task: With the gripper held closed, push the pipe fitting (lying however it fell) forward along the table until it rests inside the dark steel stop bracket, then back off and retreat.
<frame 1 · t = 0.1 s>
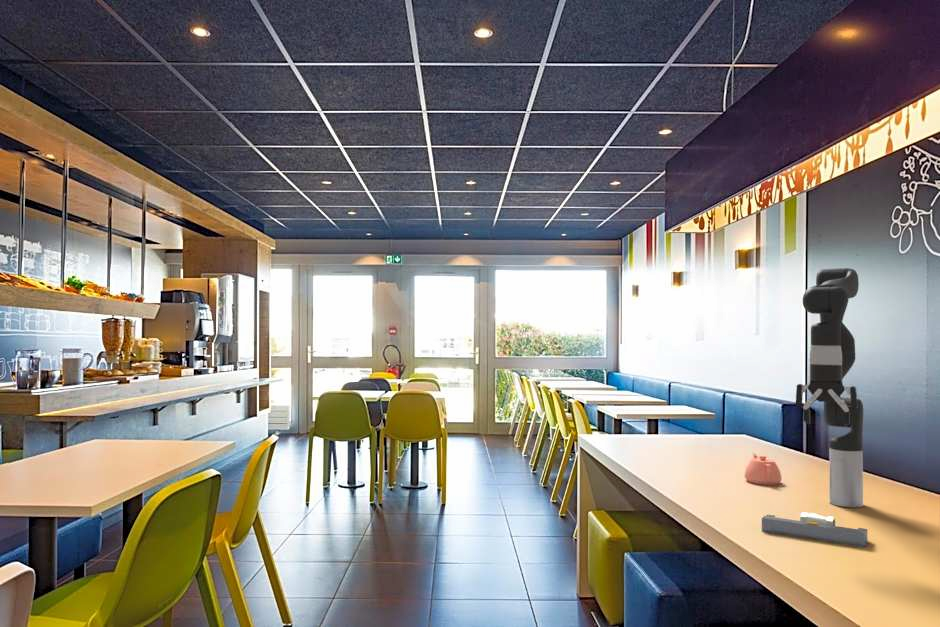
hand: (826, 425, 179), 29 cm above the table, fingers open, 8 cm apart
pipe fitting: (819, 528, 189), on the table
stop bracket: (812, 537, 178), on the table
pink rounded piece: (762, 482, 249), on the table
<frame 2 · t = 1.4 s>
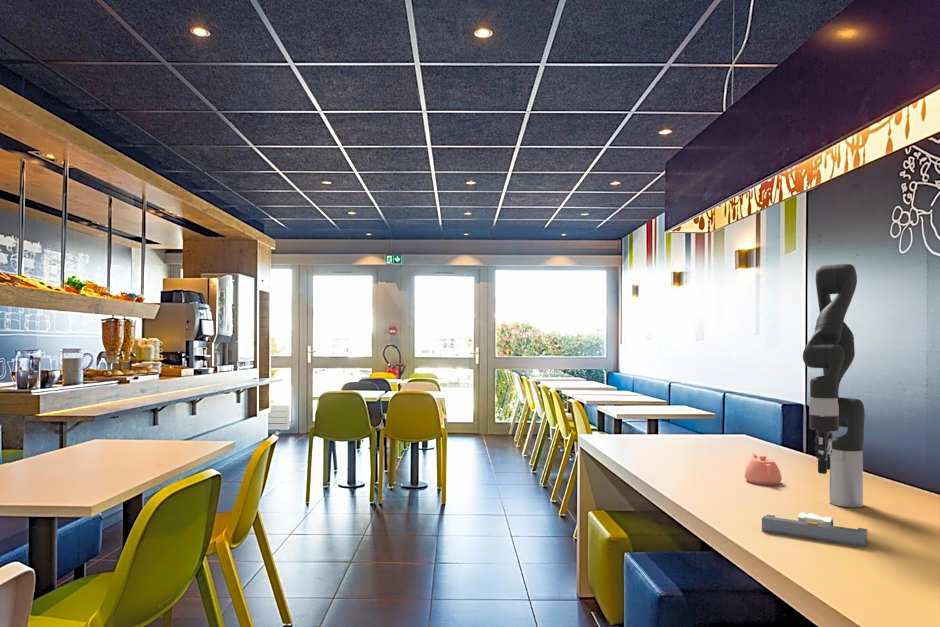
hand: (824, 471, 197), 14 cm above the table, fingers open, 7 cm apart
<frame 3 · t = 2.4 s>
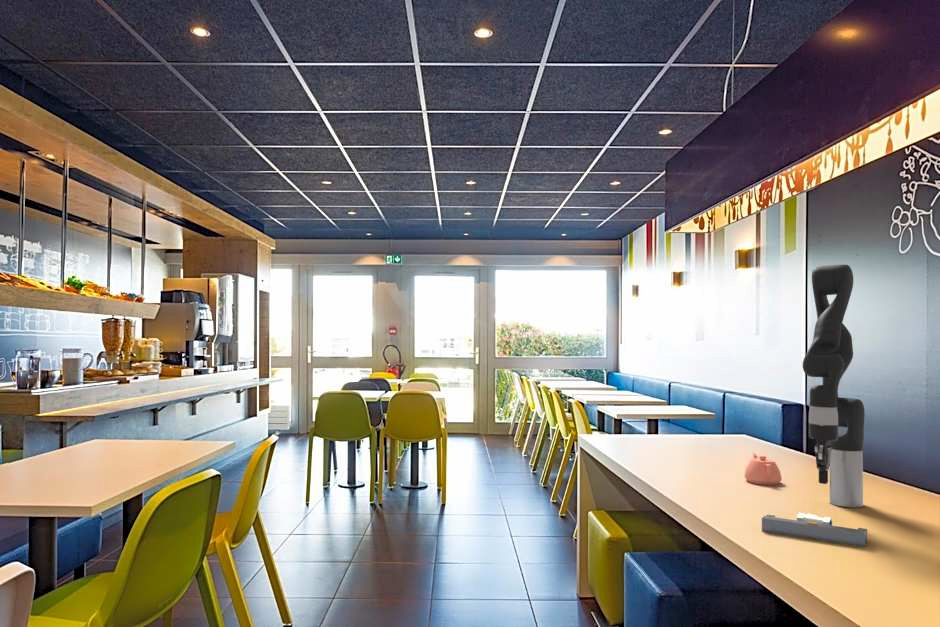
hand: (823, 483, 197), 10 cm above the table, fingers closed
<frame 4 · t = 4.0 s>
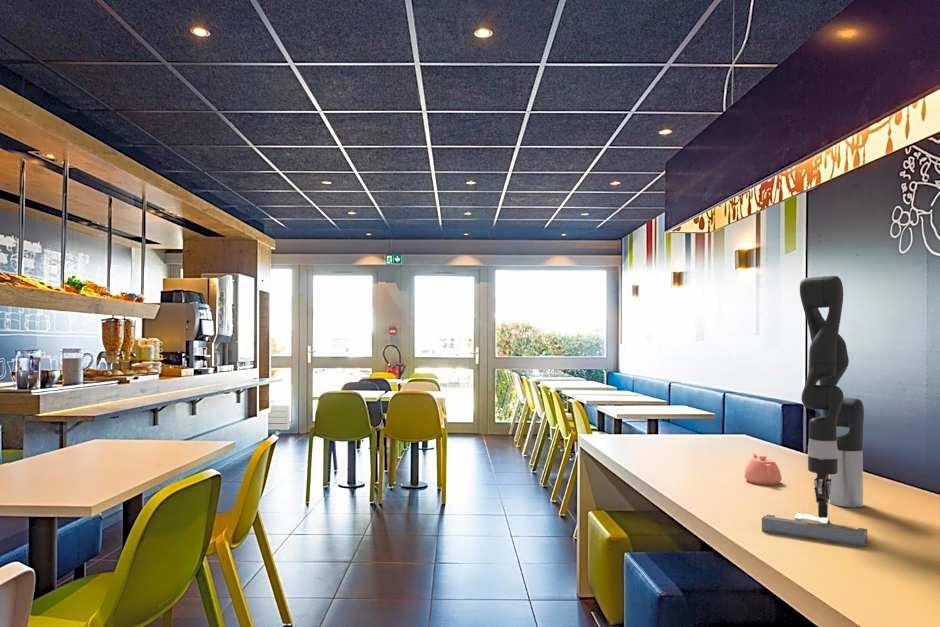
hand: (823, 517, 194), 1 cm above the table, fingers closed
pipe fitting: (814, 530, 187), on the table
everything else where it was.
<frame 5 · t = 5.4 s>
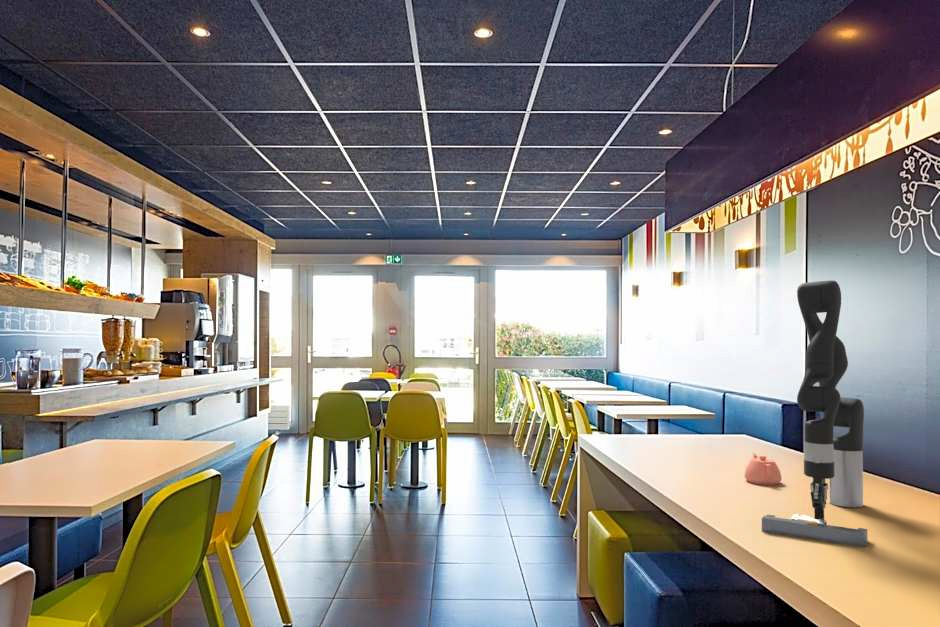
hand: (819, 522, 188), 1 cm above the table, fingers closed
pipe fitting: (810, 531, 186), on the table
everything else where it was.
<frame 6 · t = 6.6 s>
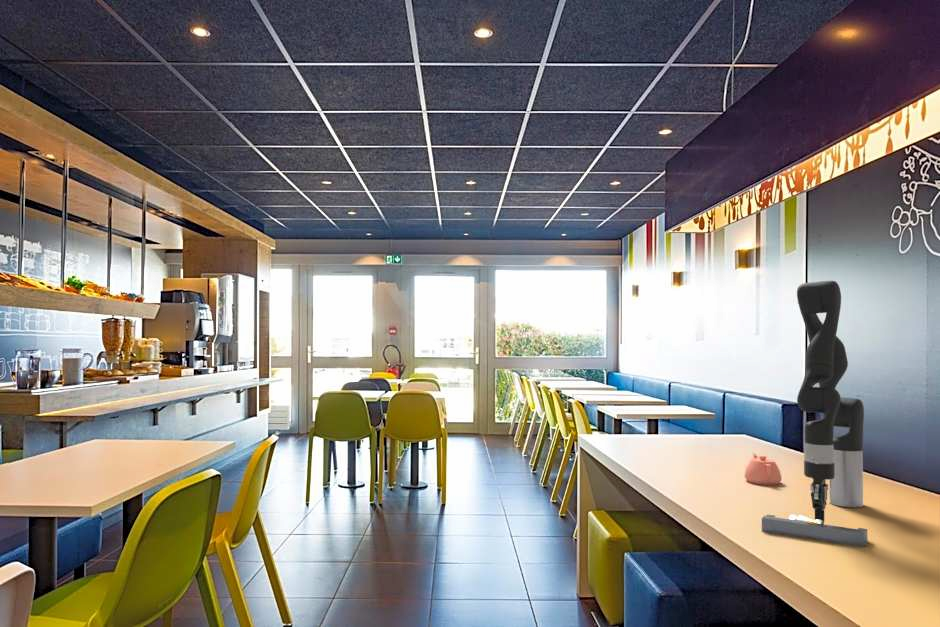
hand: (819, 523, 189), 1 cm above the table, fingers closed
pipe fitting: (807, 531, 186), on the table
everything else where it was.
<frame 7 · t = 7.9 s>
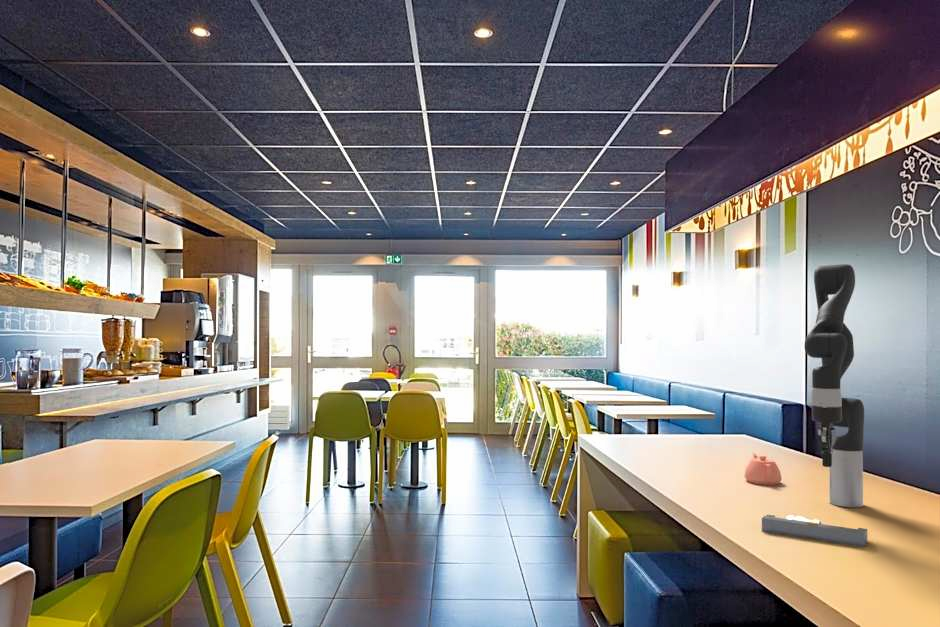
hand: (827, 466, 192), 16 cm above the table, fingers closed
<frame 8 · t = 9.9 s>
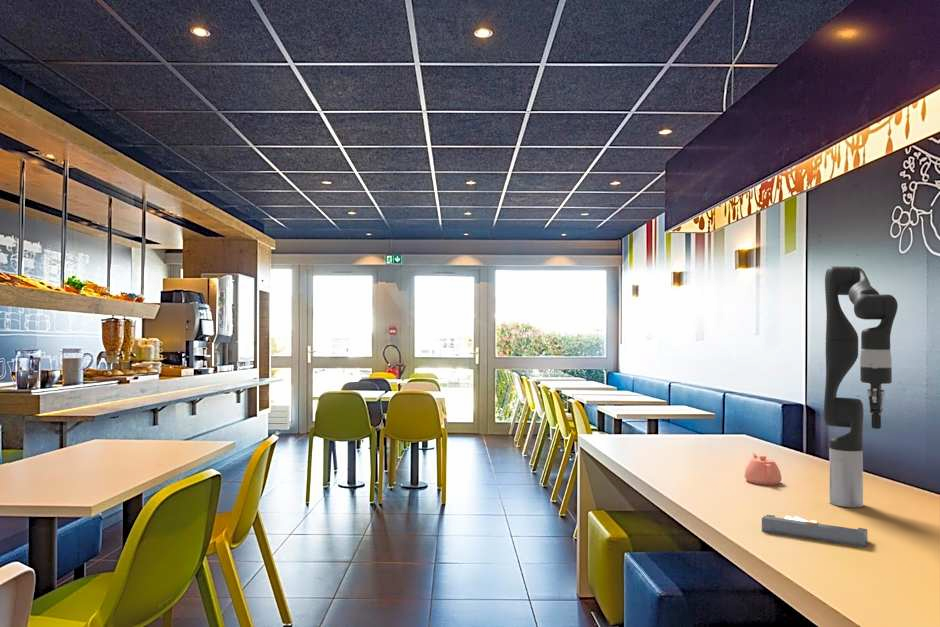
hand: (876, 428, 191), 27 cm above the table, fingers closed
pipe fitting: (803, 532, 184), on the table
everything else where it was.
at the end: pipe fitting inside the target area on the stop bracket (3.1 cm from its centre), point -0.5 cm above the stop bracket's base; pipe fitting moved 8.1 cm from its start; the gripper is holding nothing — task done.
